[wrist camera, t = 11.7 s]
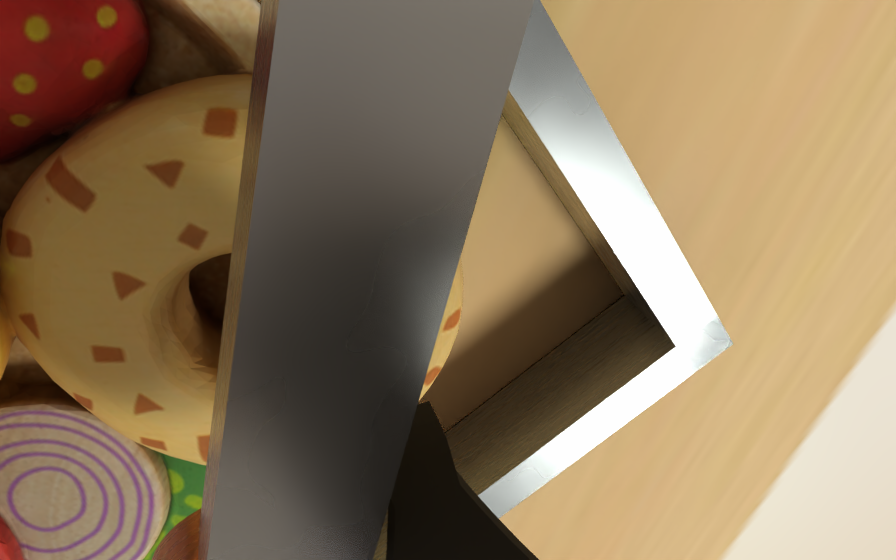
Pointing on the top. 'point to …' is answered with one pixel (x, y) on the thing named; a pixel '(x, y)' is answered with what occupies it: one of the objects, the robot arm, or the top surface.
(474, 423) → the tray
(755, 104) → the top surface
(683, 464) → the top surface
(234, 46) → the toy food set
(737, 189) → the top surface
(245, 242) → the press arm
